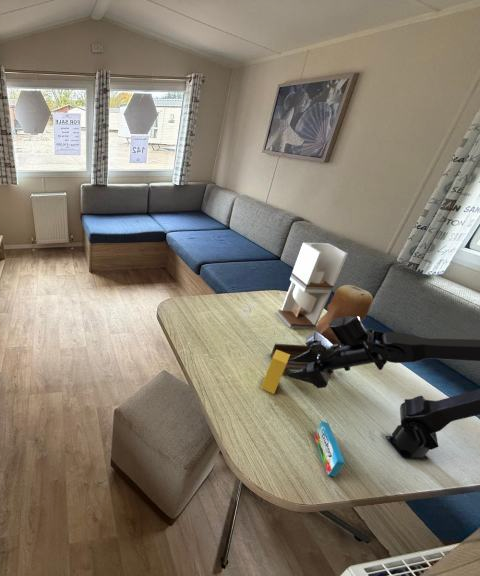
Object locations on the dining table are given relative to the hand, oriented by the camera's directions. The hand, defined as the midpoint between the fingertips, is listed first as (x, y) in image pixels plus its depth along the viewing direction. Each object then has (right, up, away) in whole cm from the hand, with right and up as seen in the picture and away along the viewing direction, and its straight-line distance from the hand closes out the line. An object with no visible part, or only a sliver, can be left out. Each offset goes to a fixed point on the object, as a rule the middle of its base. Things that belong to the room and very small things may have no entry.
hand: (291, 367), depth 96 cm
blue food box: (-1, -20, -14) cm, 24 cm away
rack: (+13, -4, +16) cm, 21 cm away
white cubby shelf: (+29, +10, +42) cm, 52 cm away
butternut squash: (+35, +2, +29) cm, 45 cm away
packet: (-3, -8, +7) cm, 11 cm away
